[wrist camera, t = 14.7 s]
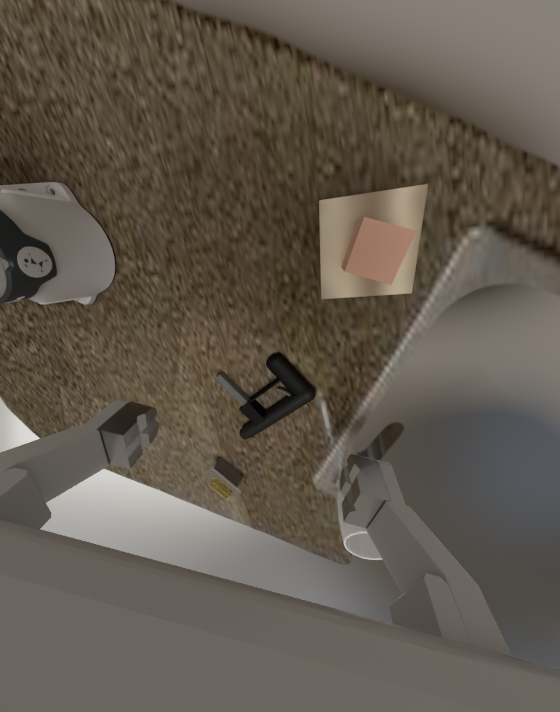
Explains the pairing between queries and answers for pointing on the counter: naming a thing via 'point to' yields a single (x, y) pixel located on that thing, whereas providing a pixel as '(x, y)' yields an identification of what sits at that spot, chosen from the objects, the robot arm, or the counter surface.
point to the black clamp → (250, 406)
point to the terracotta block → (377, 250)
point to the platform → (224, 479)
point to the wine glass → (355, 535)
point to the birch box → (338, 230)
